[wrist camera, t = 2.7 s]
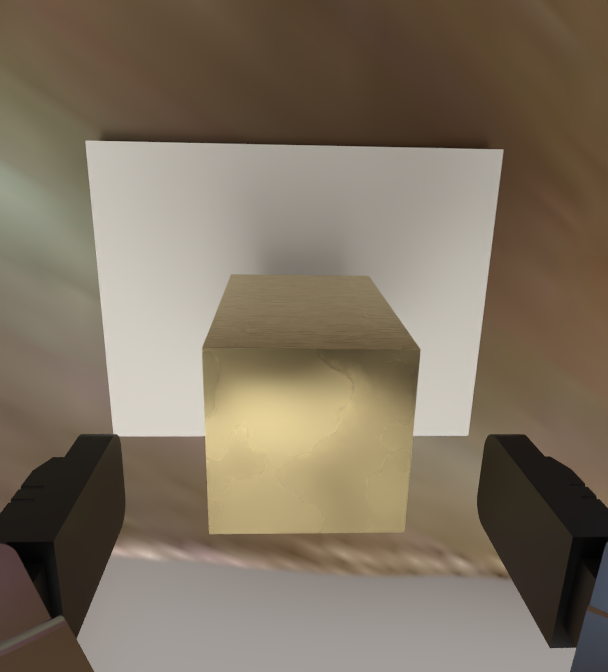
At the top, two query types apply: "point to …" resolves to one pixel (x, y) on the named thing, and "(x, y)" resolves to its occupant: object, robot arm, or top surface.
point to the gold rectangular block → (308, 407)
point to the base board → (285, 257)
